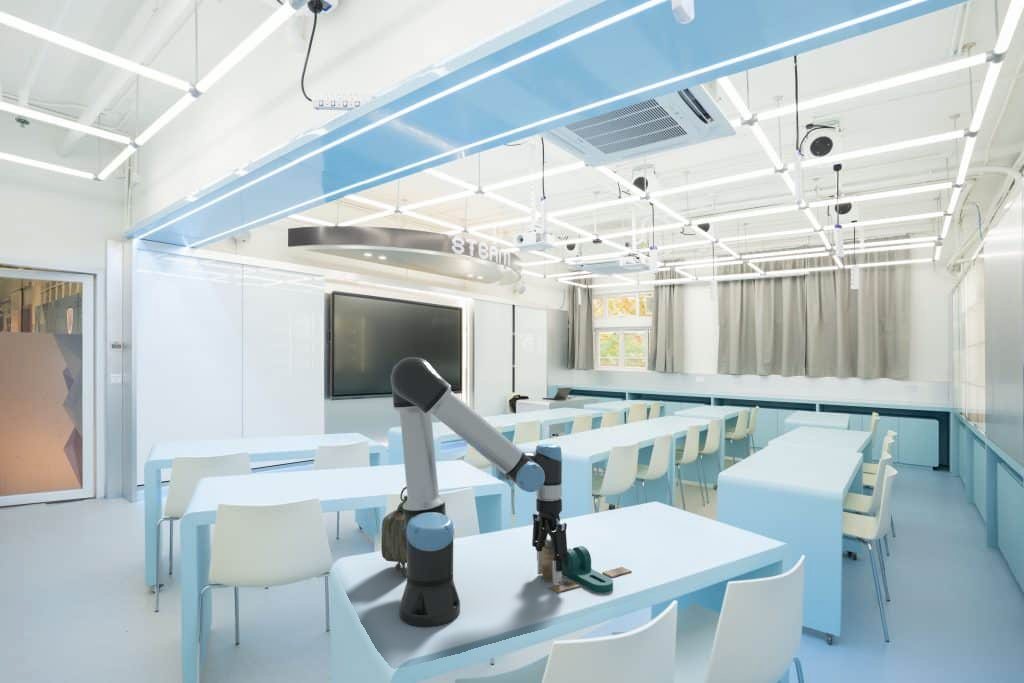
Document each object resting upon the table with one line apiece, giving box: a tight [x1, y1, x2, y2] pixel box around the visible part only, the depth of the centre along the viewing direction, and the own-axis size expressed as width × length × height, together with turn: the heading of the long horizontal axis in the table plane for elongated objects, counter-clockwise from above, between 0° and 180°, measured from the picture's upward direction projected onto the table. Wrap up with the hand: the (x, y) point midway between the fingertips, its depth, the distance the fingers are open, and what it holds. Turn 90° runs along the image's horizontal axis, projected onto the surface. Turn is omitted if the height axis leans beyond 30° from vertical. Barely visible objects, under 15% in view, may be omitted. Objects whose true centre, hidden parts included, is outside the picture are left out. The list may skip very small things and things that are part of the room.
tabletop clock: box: [380, 486, 408, 578], centre depth 165 cm, size 14×9×25 cm, turn 166°
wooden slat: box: [548, 566, 633, 594], centre depth 156 cm, size 28×4×1 cm, turn 122°
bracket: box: [562, 545, 614, 594], centre depth 156 cm, size 18×7×8 cm, turn 33°
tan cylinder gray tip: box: [542, 538, 554, 583], centre depth 157 cm, size 4×4×11 cm
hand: (549, 577), depth 157 cm, fingers open, 7 cm apart
